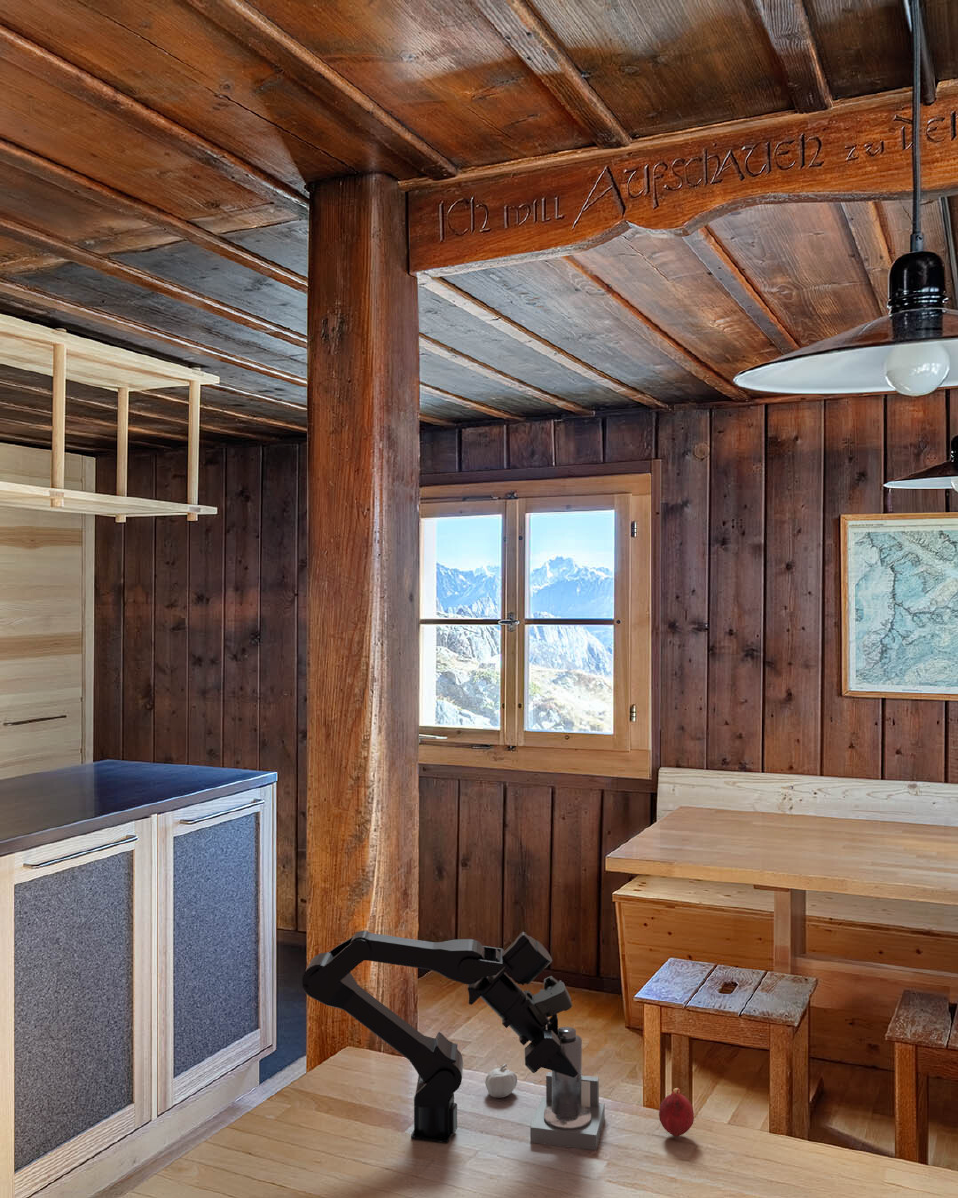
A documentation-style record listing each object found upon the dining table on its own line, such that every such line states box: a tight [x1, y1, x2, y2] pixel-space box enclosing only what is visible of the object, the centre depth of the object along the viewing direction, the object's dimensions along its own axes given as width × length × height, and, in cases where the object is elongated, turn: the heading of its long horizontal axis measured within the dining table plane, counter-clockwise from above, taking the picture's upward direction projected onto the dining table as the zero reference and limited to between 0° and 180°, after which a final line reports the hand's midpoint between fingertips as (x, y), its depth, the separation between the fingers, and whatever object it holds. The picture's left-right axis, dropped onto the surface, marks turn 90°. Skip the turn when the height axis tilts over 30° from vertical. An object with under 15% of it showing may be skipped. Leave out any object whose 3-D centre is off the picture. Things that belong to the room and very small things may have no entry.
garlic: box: [484, 1063, 518, 1098], centre depth 193 cm, size 6×5×5 cm
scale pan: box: [544, 1105, 591, 1130], centre depth 179 cm, size 8×8×1 cm
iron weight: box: [551, 1026, 583, 1117], centre depth 179 cm, size 5×5×14 cm
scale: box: [529, 1071, 606, 1151], centre depth 180 cm, size 11×11×7 cm
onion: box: [658, 1087, 695, 1138], centre depth 177 cm, size 6×6×8 cm
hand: (574, 1068), depth 179 cm, fingers open, 5 cm apart
